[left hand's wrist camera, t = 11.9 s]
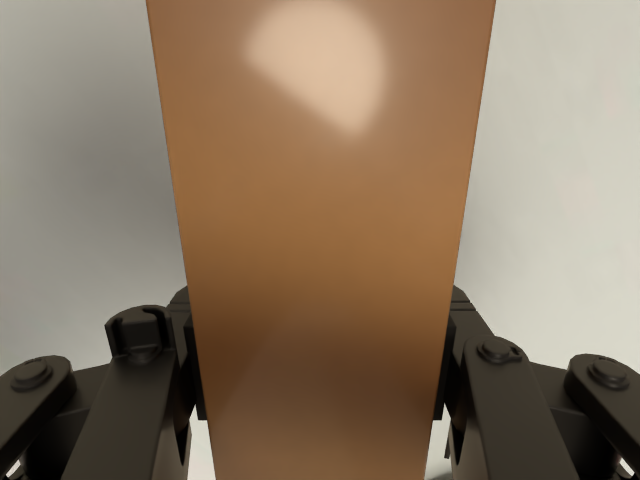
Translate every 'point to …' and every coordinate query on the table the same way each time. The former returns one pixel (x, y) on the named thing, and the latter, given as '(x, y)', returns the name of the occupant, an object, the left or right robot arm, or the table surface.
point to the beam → (320, 219)
